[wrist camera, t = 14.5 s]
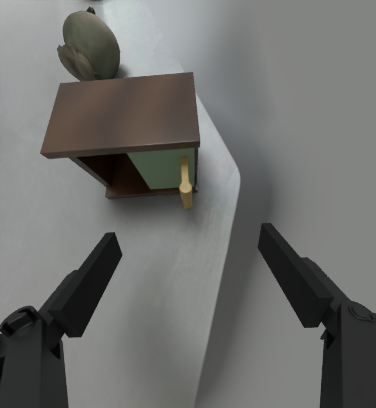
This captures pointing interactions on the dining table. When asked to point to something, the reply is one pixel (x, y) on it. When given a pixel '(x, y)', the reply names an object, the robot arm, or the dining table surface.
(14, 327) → the robot arm
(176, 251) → the dining table surface
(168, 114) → the cupboard
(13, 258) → the dining table surface
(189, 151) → the sliding door
